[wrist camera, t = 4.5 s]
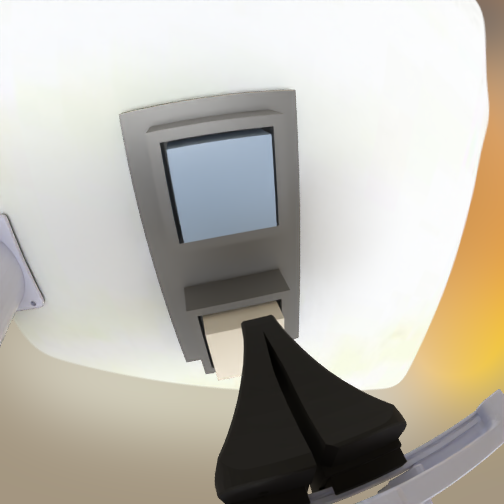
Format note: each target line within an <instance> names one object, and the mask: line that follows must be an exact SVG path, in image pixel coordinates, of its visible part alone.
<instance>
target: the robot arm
mask: <svg viewBox="0 0 504 504" xmlns="http://www.w3.org/2000/svg"><path fill="white" fill-rule="evenodd" d="M33 301H34V302H35V303H34V302H33ZM43 304H44V299H43V297H42V295H41V293H40V291H39V289H38V287H37V285H36V283H35V281H34V279H33V277H32V275H31V273H30V271H29V268H28V266H27V264H26V262H25V260H24V257H23V255H22V253H21V250H20V248H19V246H18V243H17V241H16V238H15V236H14V233H13V231H12V228H11V226H10V223H9V220H8V218H7V217H6V216H5V215H3V214H2V215H0V346H1V344H2V341H3V339H4V337H5V334H6V332H7V330H8V327H9V325H10V323H11V321H12V319H13V317H14V314H15V312H16V311H21V310H27V309H33V308H39V307H42V306H43ZM241 328H242V334H243V342H244V352H243V368H242V377H241V384H240V390H239V395H238V400H237V404H236V408H235V412H234V416H233V419H232V422H231V425H230V428H229V431H228V434H227V437H226V440H225V443H224V445H223V447H222V450H221V452H220V454H219V457H218V461H217V466H216V472H215V488H216V492H217V496H218V498H219V499H220V500H222V501H223V502H224V503H225V504H332V503H335V502H338V501H340V500H343V499H346V498H348V497H351V496H353V495H355V494H358V493H360V492H362V491H365V490H367V489H370V488H372V487H374V486H376V485H378V484H381V483H383V482H385V481H387V480H389V479H391V478H393V477H395V476H397V475H399V474H401V473H403V472H404V471H406V472H404V473H403V474H401V475H400V476H398V477H396V478H394V479H393V480H391V481H389V483H388V485H386V486H385V487H384V488H382V489H381V490H379V491H378V494H377V495H375V496H372V497H370V498H368V499H365V500H363V501H360V502H358V503H355V504H433V502H432V500H431V498H432V497H434V496H435V495H437V494H438V493H440V492H441V491H443V490H444V489H446V488H447V487H449V486H450V485H452V484H453V483H455V482H456V481H457V480H459V479H460V478H462V477H463V476H464V475H466V474H467V473H468V472H470V471H471V470H472V469H473V468H475V467H476V466H477V465H479V464H480V463H481V462H482V461H483V460H485V459H486V458H487V457H488V456H490V455H491V454H492V453H493V452H494V451H495V450H496V449H497V448H499V447H500V446H501V445H502V444H503V443H504V394H503V393H502V391H501V390H500V389H498V390H497V391H495V392H494V393H493V394H492V395H490V396H489V397H488V398H487V399H485V400H484V401H483V402H482V403H481V404H480V405H479V406H478V408H477V409H476V411H474V412H473V413H472V414H470V415H469V416H467V417H466V418H464V419H463V420H462V421H460V422H459V423H457V424H456V425H454V426H453V427H451V428H449V429H448V430H447V431H445V432H443V433H442V434H440V435H438V436H437V437H435V438H434V439H432V440H430V441H428V442H427V443H425V444H423V445H422V446H420V447H418V448H416V449H414V450H412V451H411V452H409V453H407V454H405V455H404V454H403V453H402V451H401V449H400V447H401V443H400V441H399V439H398V438H399V437H400V435H401V434H402V432H403V431H404V430H405V427H406V425H407V424H406V421H405V419H404V418H403V416H402V415H401V414H400V412H399V411H398V410H397V409H396V407H395V406H394V405H392V404H390V403H387V402H385V401H382V400H380V399H377V398H375V397H373V396H371V395H368V394H367V393H365V392H363V391H361V390H359V389H357V388H355V387H354V386H352V385H350V384H348V383H347V382H345V381H343V380H342V379H340V378H339V377H337V376H336V375H334V374H333V373H331V372H330V371H328V370H327V369H326V368H324V367H323V366H322V365H321V364H319V363H318V362H317V361H316V360H315V359H313V358H312V357H311V356H310V355H309V354H308V353H307V352H306V351H304V350H303V349H302V348H301V347H300V346H299V345H298V344H297V343H296V342H295V341H294V340H293V339H292V338H291V336H290V335H289V334H288V333H287V332H286V331H285V330H284V329H283V327H282V326H281V325H280V324H279V322H278V321H277V320H276V318H275V317H274V316H273V315H268V316H264V317H259V318H255V319H251V320H247V321H243V322H242V323H241ZM408 469H409V470H408ZM407 470H408V471H407ZM309 484H310V487H311V490H312V494H308V493H307V491H308V488H309Z"/></svg>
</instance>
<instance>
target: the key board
mask: <svg viewBox="0 0 504 504" xmlns="http://www.w3.org/2000/svg"><path fill="white" fill-rule="evenodd" d="M119 118H120V124H121V129H122V135H123V140H124V145H125V150H126V155H127V160H128V165H129V170H130V174H131V179H132V183H133V188H134V192H135V196H136V200H137V205H138V209H139V213H140V217H141V221H142V224H143V228H144V232H145V236H146V239H147V243H148V247H149V250H150V254H151V257H152V261H153V264H154V267H155V271H156V274H157V277H158V281H159V284H160V287H161V290H162V293H163V297H164V300H165V303H166V306H167V309H168V312H169V315H170V318H171V321H172V324H173V326H174V329H175V332H176V335H177V338H178V341H179V343H180V346H181V349H182V351H183V354H184V357H185V359H186V362H191V361H196V360H201V361H202V364H203V367H204V370H205V373H206V374H209V373H214V372H216V371H215V367H214V364H213V360H212V357H211V353H210V350H209V346H208V343H207V339H206V335H205V329H204V323H203V317H202V315H208V314H213V313H218V312H223V311H228V310H232V309H237V308H242V307H247V306H251V305H256V304H261V303H265V302H270V301H274V300H276V301H277V304H278V306H279V308H280V310H281V312H282V314H283V317H284V330H285V331H286V332H287V333H288V334H289V335H290V336H291V338H292V339H296V338H298V335H299V295H300V198H299V158H298V132H297V111H296V93H295V90H272V91H257V92H246V93H235V94H226V95H218V96H210V97H203V98H196V99H190V100H184V101H178V102H172V103H167V104H161V105H156V106H151V107H147V108H142V109H138V110H133V111H129V112H125V113H121V114H119ZM252 129H263V130H264V131H266V132H268V133H270V134H271V136H272V151H273V168H274V185H275V203H276V223H277V226H274V227H269V228H263V229H258V230H252V231H247V232H241V233H236V234H230V235H225V236H220V237H214V238H209V239H204V240H198V241H193V242H188V243H184V240H183V235H182V230H181V225H180V221H179V216H178V211H177V206H176V201H175V195H174V190H173V185H172V179H171V174H170V168H169V163H168V157H167V151H166V149H167V143H168V142H173V141H178V140H184V139H189V138H195V137H201V136H208V135H214V134H221V133H228V132H236V131H244V130H252Z"/></svg>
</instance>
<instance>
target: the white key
mask: <svg viewBox="0 0 504 504" xmlns="http://www.w3.org/2000/svg"><path fill="white" fill-rule="evenodd" d="M268 315H273V316H274V317H275V318H276V320H277V321H278V322H279V324H280V325H281V326H282V327H283V329H284V317H283V314H282V312H281V310H280V308H279V306H278V304H277V301H276V300H274V301H270V302H265V303H261V304H256V305H251V306H247V307H242V308H237V309H232V310H228V311H223V312H218V313H213V314H208V315H202V317H203V323H204V329H205V335H206V339H207V343H208V346H209V350H210V353H211V357H212V360H213V364H214V367H215V371H216V374H217V378H218V381H219V380H224V379H229V378H233V377H238V376H242V368H243V352H244V342H243V334H242V328H241V323H242V322H243V321H247V320H251V319H255V318H259V317H264V316H268Z"/></svg>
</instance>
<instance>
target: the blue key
mask: <svg viewBox="0 0 504 504" xmlns="http://www.w3.org/2000/svg"><path fill="white" fill-rule="evenodd" d="M166 151H167V157H168V163H169V168H170V174H171V179H172V185H173V190H174V195H175V201H176V206H177V211H178V216H179V221H180V225H181V230H182V235H183V240H184V243H188V242H193V241H198V240H204V239H209V238H214V237H220V236H225V235H230V234H236V233H241V232H247V231H252V230H258V229H263V228H269V227H274V226H277V223H276V203H275V185H274V168H273V151H272V136H271V134H270V133H268V132H266V131H264V130H263V129H252V130H244V131H236V132H228V133H221V134H214V135H208V136H201V137H195V138H189V139H184V140H178V141H173V142H168V143H167V149H166Z"/></svg>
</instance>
